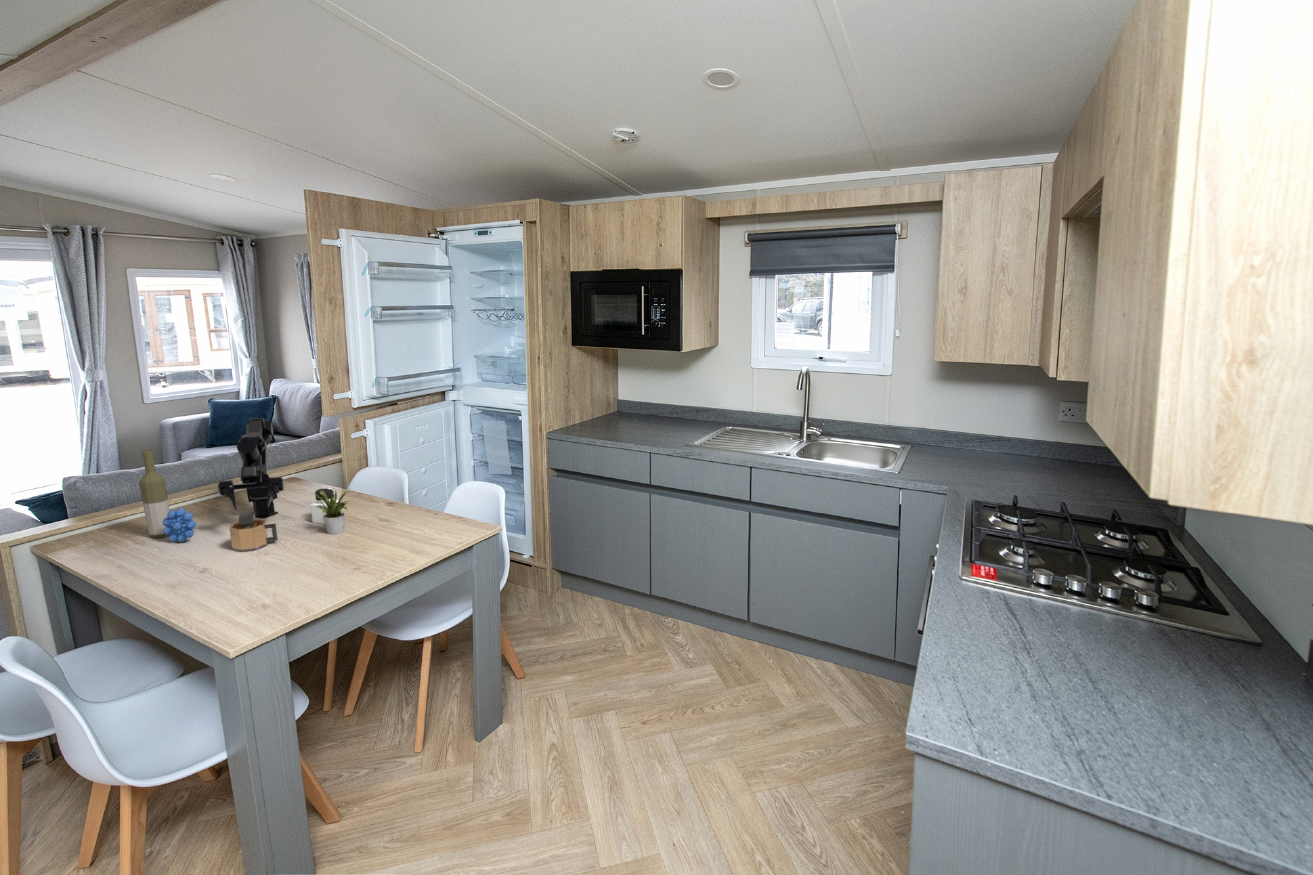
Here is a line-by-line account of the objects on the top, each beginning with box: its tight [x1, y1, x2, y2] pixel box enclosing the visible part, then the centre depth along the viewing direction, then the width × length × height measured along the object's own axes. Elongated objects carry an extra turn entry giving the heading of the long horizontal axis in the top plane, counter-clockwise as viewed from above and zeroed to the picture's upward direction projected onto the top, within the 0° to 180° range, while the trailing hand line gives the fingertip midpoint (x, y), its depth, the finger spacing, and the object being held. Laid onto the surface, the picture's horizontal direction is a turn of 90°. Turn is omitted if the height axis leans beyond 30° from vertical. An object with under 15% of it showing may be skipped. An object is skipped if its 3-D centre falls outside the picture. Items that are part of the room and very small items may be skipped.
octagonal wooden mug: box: [229, 518, 279, 553], centre depth 213 cm, size 10×13×8 cm
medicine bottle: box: [310, 487, 342, 525], centre depth 237 cm, size 7×7×12 cm
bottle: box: [138, 449, 170, 538], centre depth 219 cm, size 7×7×30 cm
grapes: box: [162, 507, 197, 544], centre depth 216 cm, size 12×7×12 cm, turn 85°
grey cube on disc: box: [238, 512, 257, 528], centre depth 212 cm, size 7×7×8 cm
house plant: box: [311, 487, 351, 535], centre depth 224 cm, size 14×14×16 cm
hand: (251, 508), depth 218 cm, fingers open, 9 cm apart
